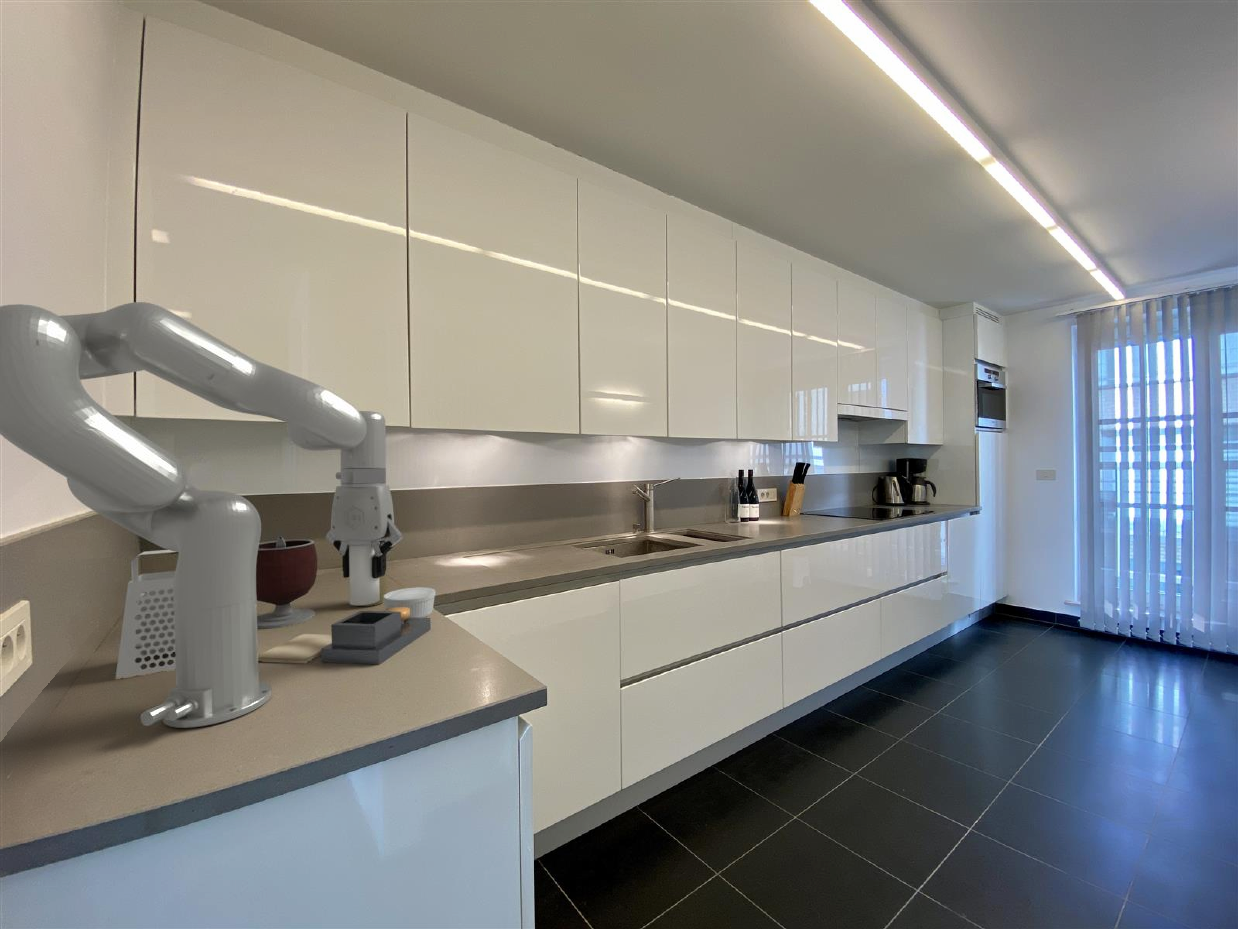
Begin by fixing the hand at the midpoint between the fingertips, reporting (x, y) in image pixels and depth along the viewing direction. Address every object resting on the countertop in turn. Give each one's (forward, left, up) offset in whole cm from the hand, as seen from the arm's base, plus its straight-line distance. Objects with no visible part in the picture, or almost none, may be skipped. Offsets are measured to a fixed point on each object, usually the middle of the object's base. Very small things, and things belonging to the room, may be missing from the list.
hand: (364, 575), depth 96 cm
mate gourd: (+16, +31, -15) cm, 38 cm away
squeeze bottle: (+30, +19, -15) cm, 39 cm away
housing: (+4, 0, -14) cm, 15 cm away
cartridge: (0, 0, -5) cm, 5 cm away
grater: (-8, +34, -15) cm, 38 cm away
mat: (0, +13, -14) cm, 19 cm away
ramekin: (+22, +4, -15) cm, 27 cm away
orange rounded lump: (+10, 0, -14) cm, 17 cm away
